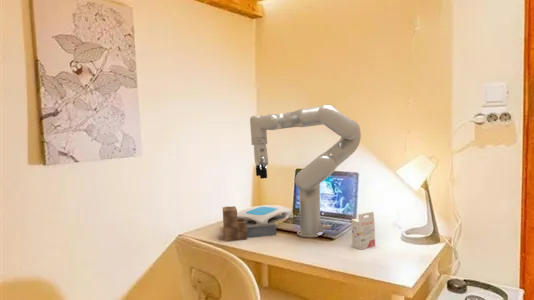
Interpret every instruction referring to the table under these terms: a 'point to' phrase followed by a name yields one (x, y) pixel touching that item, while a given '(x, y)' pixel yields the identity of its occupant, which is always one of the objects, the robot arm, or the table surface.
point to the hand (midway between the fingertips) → (261, 176)
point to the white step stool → (264, 214)
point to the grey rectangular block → (261, 230)
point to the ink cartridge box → (363, 231)
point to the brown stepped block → (233, 225)
